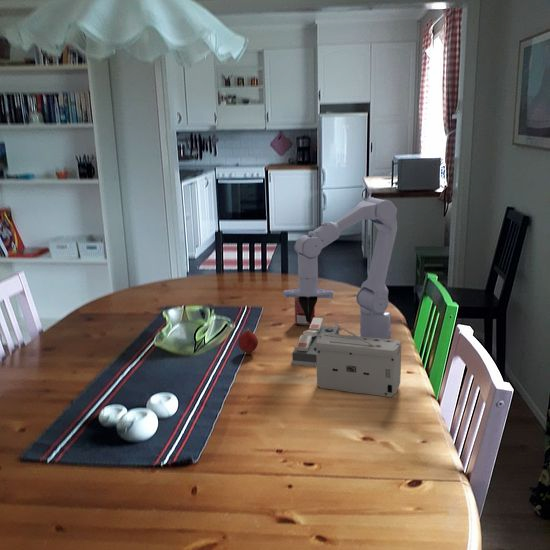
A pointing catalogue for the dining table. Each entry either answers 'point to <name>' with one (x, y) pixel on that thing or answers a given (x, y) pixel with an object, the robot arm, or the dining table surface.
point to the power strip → (311, 349)
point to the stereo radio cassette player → (358, 363)
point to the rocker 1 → (304, 343)
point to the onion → (248, 342)
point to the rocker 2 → (316, 324)
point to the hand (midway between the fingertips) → (308, 320)
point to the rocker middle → (310, 333)
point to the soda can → (302, 314)
